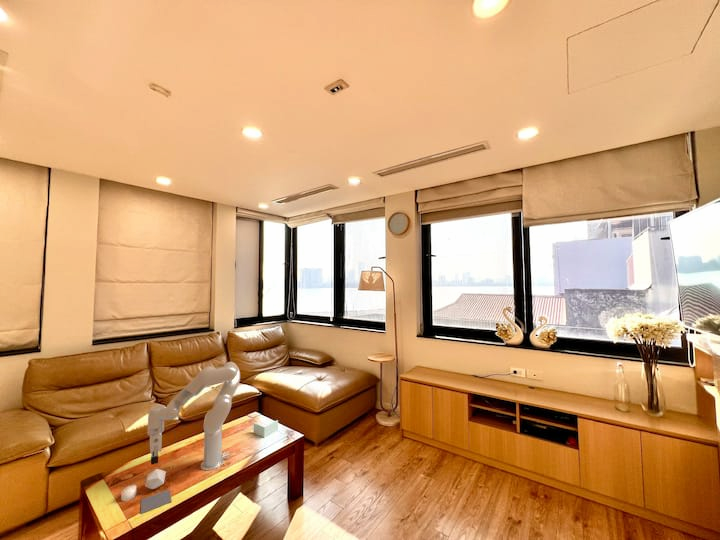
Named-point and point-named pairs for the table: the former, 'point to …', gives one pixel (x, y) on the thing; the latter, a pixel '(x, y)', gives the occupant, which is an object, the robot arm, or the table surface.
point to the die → (155, 479)
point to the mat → (155, 501)
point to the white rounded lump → (128, 493)
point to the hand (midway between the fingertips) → (154, 463)
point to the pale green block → (265, 429)
